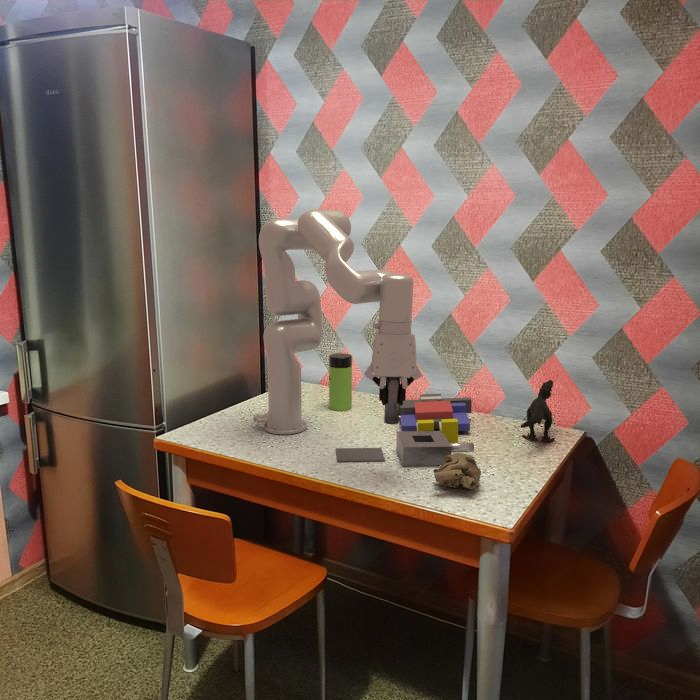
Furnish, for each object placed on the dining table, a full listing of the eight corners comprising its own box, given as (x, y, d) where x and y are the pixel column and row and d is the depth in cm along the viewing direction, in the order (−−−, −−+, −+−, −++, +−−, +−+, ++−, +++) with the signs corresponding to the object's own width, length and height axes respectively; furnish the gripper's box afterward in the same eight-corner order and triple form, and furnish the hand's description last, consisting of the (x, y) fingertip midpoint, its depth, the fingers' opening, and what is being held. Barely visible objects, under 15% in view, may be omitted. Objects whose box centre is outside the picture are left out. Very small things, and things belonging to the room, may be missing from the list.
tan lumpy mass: (449, 437, 154) (424, 464, 141) (493, 449, 149) (471, 478, 136) (447, 464, 156) (422, 493, 144) (490, 477, 151) (468, 508, 139)
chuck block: (402, 466, 158) (403, 447, 157) (396, 449, 170) (396, 431, 169) (478, 465, 159) (479, 446, 158) (466, 448, 171) (467, 430, 170)
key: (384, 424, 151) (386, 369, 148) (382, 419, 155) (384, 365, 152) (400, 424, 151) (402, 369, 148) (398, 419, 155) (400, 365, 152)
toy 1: (386, 424, 173) (385, 387, 202) (387, 453, 175) (386, 412, 204) (482, 420, 171) (467, 383, 200) (482, 450, 174) (467, 409, 202)
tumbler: (336, 412, 202) (336, 359, 198) (324, 406, 208) (324, 354, 205) (355, 409, 206) (356, 356, 202) (343, 403, 212) (344, 352, 209)
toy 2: (562, 430, 186) (566, 380, 183) (540, 461, 162) (544, 404, 159) (531, 425, 190) (534, 376, 187) (505, 455, 166) (508, 399, 163)
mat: (337, 462, 160) (337, 460, 160) (335, 449, 169) (336, 448, 169) (385, 461, 161) (385, 460, 161) (381, 449, 170) (381, 447, 170)
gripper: (360, 330, 144) (358, 408, 148) (433, 331, 145) (429, 408, 149) (358, 324, 151) (356, 398, 155) (427, 325, 152) (423, 399, 156)
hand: (392, 402), depth 152 cm, fingers closed on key, 3 cm apart
